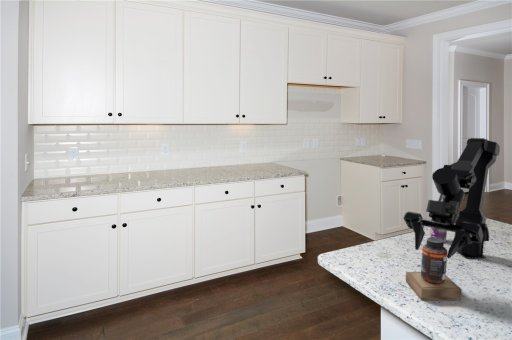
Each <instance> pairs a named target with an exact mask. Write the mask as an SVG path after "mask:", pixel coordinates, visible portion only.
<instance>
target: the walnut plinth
mask: <svg viewBox="0 0 512 340" xmlns="http://www.w3.org/2000/svg"><path fill="white" fill-rule="evenodd" d="M405 283H406V284H407V285H408V286H409V288H410V289H411V290H412V291H413V292H414V294H415V295H416V296H417V297H418V298H419V299H420V301H462V293H463V292H462V288H461V286H459V285H458V284H457V283H455V282H454V281H453V280H452V279H451V278H449V276H447V275H446V278H445V281H444V282H443V283H430V282H428V281H426V280H424V279H423V278H422V277H421V271H406V272H405Z"/></svg>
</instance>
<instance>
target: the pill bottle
mask: <svg viewBox="0 0 512 340" xmlns="http://www.w3.org/2000/svg"><path fill="white" fill-rule="evenodd" d="M447 232H448V231H447V230H442V229H437V228H432V227H430V237H436V238H440V239H443V240H444V243H445V242H446V241H447V235H448V233H447Z"/></svg>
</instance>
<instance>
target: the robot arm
mask: <svg viewBox="0 0 512 340" xmlns="http://www.w3.org/2000/svg"><path fill="white" fill-rule="evenodd" d="M500 149H501V147H500V145H499V143H498V142H496V141H492V140H488V139H487V138H483V137H479V138H477V137H470V138H468V139H467V140H466V146H465V147H464V149H463V151H462V153H461V155H459V157H458V159H457V161H456V162H453V163H451V164H444V165H443V167H440V168H438V169H436V170H435V171H434V172H432V176H431V177H432V181H433V183H434V185H435V188H436V190H437V192H438V194H440V195H439V197H438V200H434V199H428V202H427V205H426V206H427V207H426V210H425V211H426V212H427V213H428V217H429V218H431V219H426V218H423V215H422V214H421V213H419V212H413V211H407V212H406V213H405V214H404V216H403V220H404V223H405V224H406V226H407V227H408V229H410V230H412V231H413V232H414V243H415V244H414V248H415V250H416V251H419V249H420V248H421V246H422V242H423V239H424V237H425V234H426V232H425V229H424V228H425V227H427V228H428V227H429V228H431V227H432V228H437V229H442V230H447V232H452V233H454V237H453V239H452V242H451V244H450V246H449V249H448V250H447V259H451V258H452V257H453V256H454V255H455V254H456V253H458V254H460V255H461V256H462V257H464V258H465V259H486V258H487V256H485V255H484V243H485V242H489V241H490V231H489V228H488V224H487V219H486V217H485V214H484V213H483V211H482V210H483V204H484V197H485V193H486V188H487V187H486V186H487V180H488V174H489V169H490V168H491V167H492V166H494V164H495V162H497V156H499V155H500ZM463 189H467V190H468V191H467V192H468V193H467V198H466V205H465V207H464V208H463V209H462V210H461V207H462V204H463V202H464V200H465V195H466V194H465V191H464V190H463Z"/></svg>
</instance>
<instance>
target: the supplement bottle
mask: <svg viewBox="0 0 512 340" xmlns="http://www.w3.org/2000/svg"><path fill="white" fill-rule="evenodd" d="M444 244H445V242H444V240H443V239H440V238H436V237H431V236H430V237H427V239H426V244H424V245H423V246H422V249H421V251H422V252H421V267H420V272H421V277H422V278H423V279H424V280H426V281H428V282H430V283H443V282H444V281H445V278H446V276H447V263H448V257H447V254H448V249H447V248H446V247H445V246H444Z"/></svg>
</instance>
